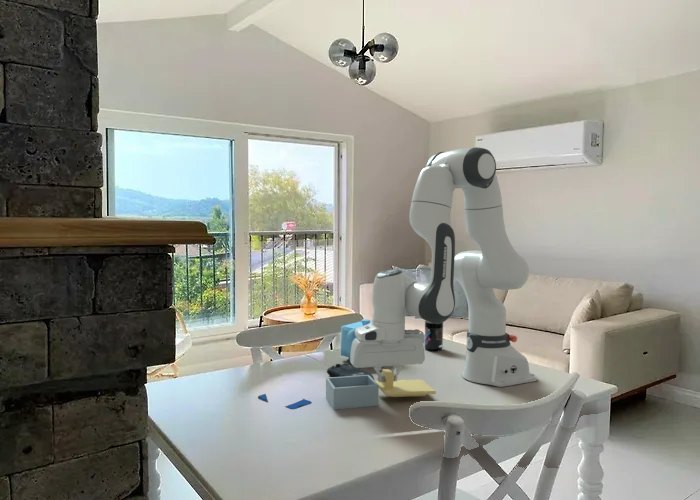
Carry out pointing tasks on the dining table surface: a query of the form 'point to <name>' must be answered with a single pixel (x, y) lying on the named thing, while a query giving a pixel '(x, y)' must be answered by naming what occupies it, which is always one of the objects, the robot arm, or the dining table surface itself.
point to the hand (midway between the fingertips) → (387, 381)
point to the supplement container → (433, 336)
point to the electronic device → (346, 371)
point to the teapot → (350, 336)
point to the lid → (403, 386)
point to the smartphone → (292, 406)
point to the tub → (352, 392)
